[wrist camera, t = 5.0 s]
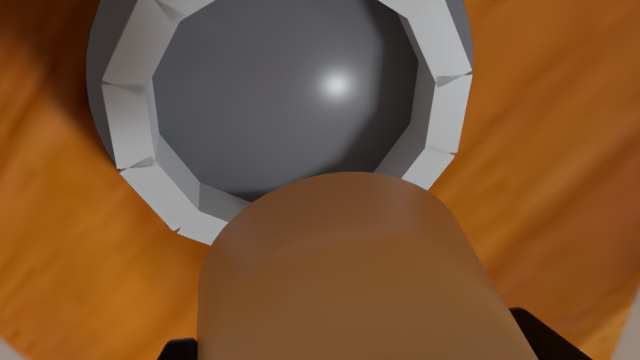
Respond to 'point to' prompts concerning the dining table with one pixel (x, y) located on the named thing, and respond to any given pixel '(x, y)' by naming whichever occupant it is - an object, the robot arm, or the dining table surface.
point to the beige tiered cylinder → (350, 279)
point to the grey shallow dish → (273, 96)
